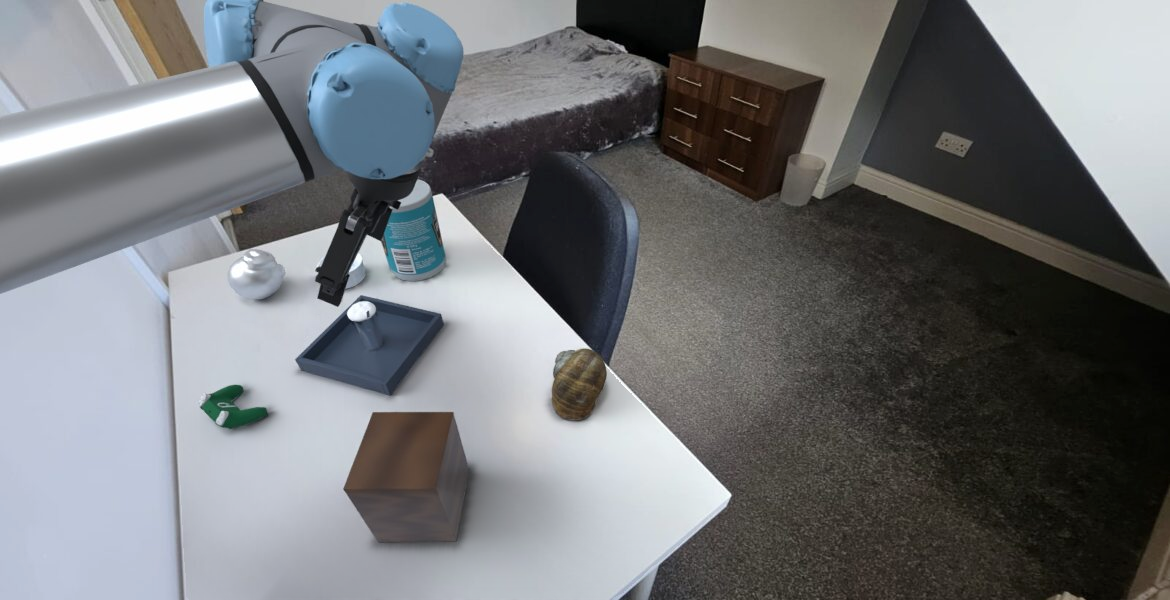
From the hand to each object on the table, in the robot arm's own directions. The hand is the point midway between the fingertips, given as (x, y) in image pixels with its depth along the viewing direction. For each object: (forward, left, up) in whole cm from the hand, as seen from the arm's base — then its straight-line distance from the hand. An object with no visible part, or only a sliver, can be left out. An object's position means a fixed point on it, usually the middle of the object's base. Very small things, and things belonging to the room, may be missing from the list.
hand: (352, 265), depth 66 cm
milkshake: (-6, +4, -22) cm, 24 cm away
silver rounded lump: (-36, +10, -23) cm, 44 cm away
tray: (-6, +4, -23) cm, 24 cm away
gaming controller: (-18, -15, -23) cm, 33 cm away
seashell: (+32, +5, -23) cm, 40 cm away
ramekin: (-24, +19, -23) cm, 38 cm away
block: (+18, -19, -23) cm, 35 cm away
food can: (-12, +28, -23) cm, 38 cm away
